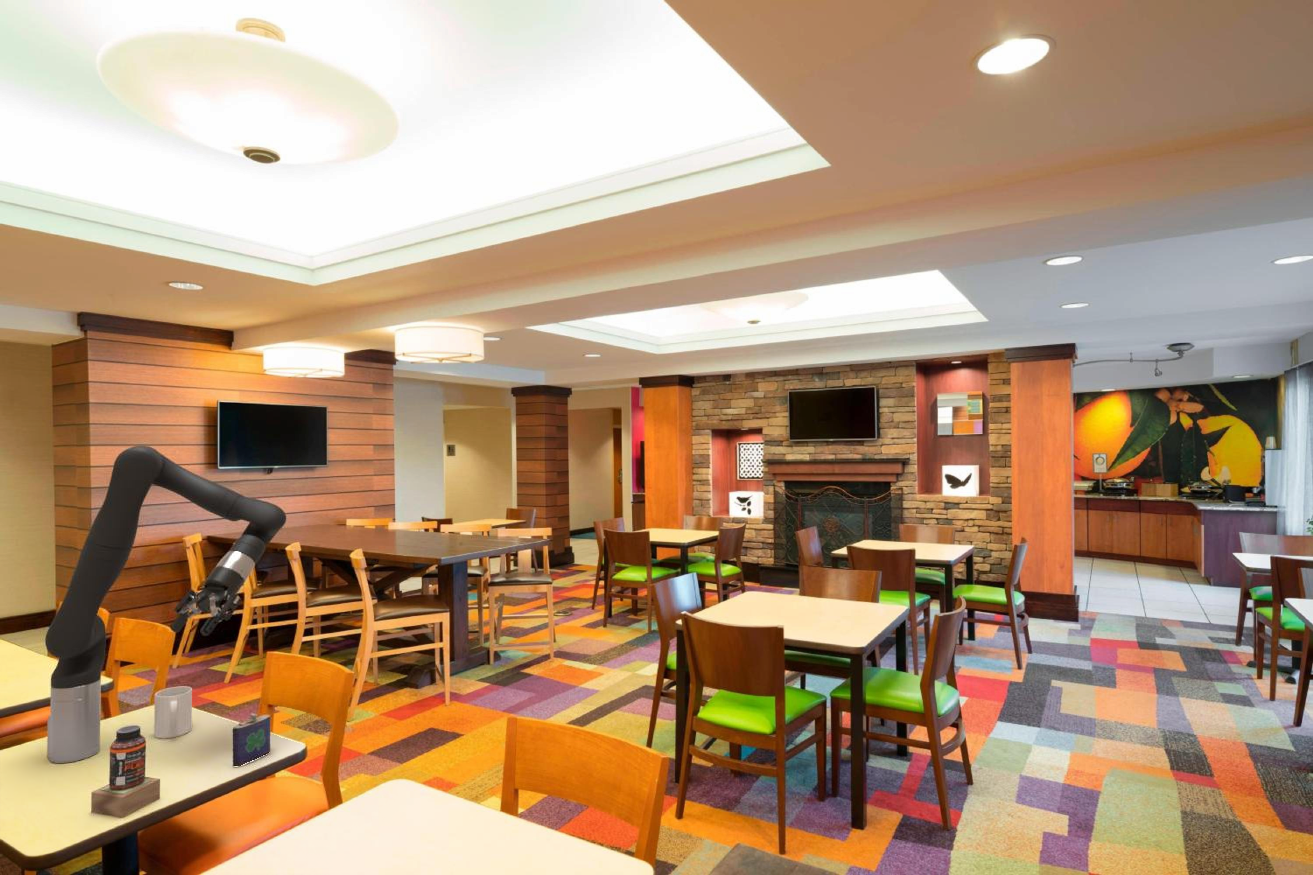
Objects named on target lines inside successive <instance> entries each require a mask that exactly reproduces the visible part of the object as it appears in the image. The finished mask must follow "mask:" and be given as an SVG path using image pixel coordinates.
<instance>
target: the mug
mask: <svg viewBox="0 0 1313 875" xmlns="http://www.w3.org/2000/svg"><path fill="white" fill-rule="evenodd" d="M192 705H193V688H192V687H191V686H173V687H167V688H164V689H160V690H159V691H157V692H156V693H154V713H153V714H154V717H153V718H154V722H153V724H154V726H153V729H154V730H153V731H154V732H153V734H154V737H155V738H157V739H171V738H176V737H177V738H178V737H181V736H183V735H186V734H188V733H190V731H191V730H192V727H193V726H192V722H193V720H192V719H193V718H192V713H193V712H192V711H193V709H192V708H193V706H192Z"/></svg>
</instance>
